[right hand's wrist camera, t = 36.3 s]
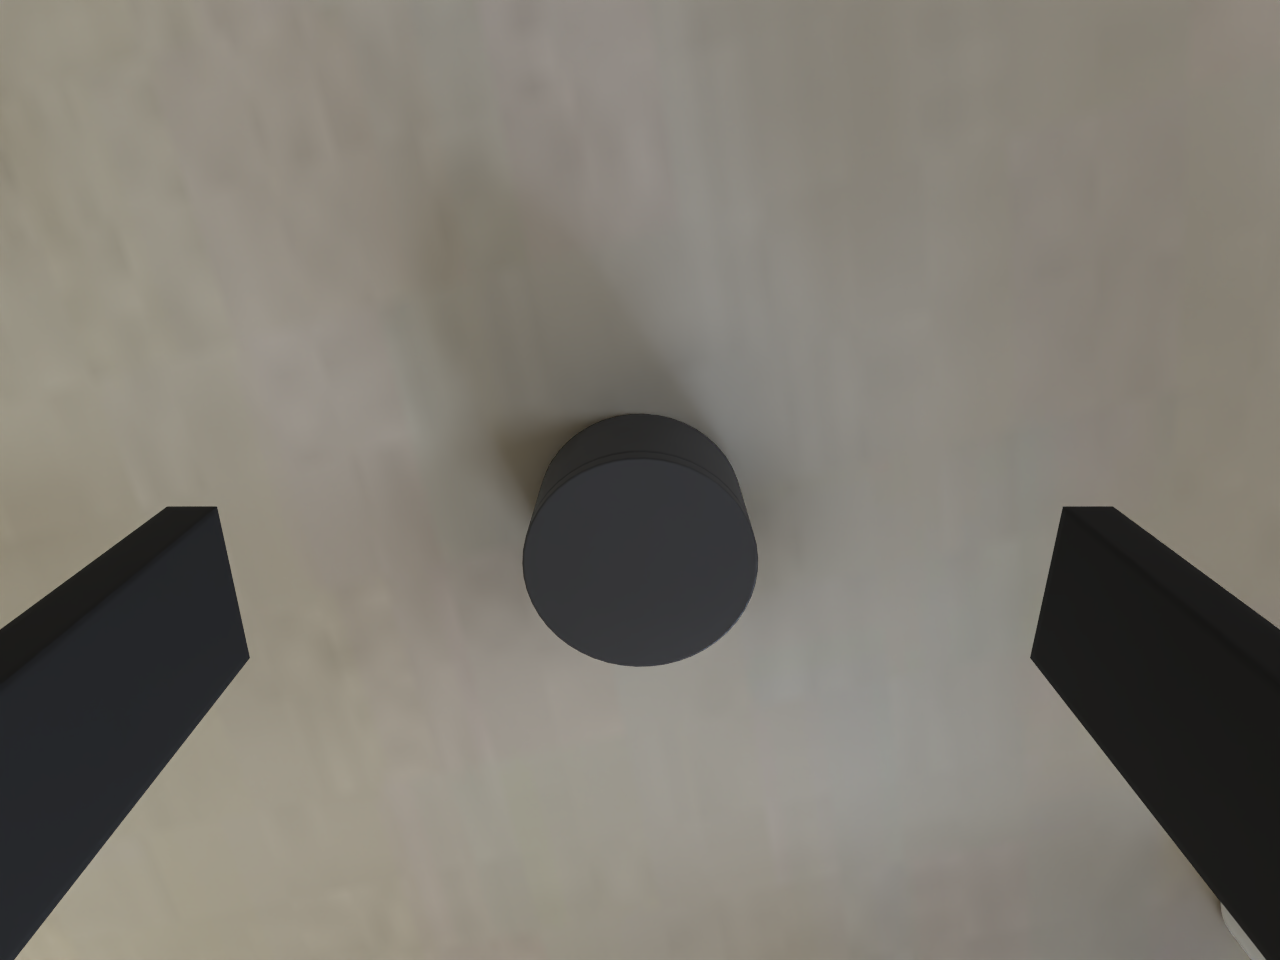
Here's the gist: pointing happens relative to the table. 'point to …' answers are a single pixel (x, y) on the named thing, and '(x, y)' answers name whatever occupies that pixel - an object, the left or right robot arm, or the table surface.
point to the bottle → (1240, 936)
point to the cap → (640, 543)
